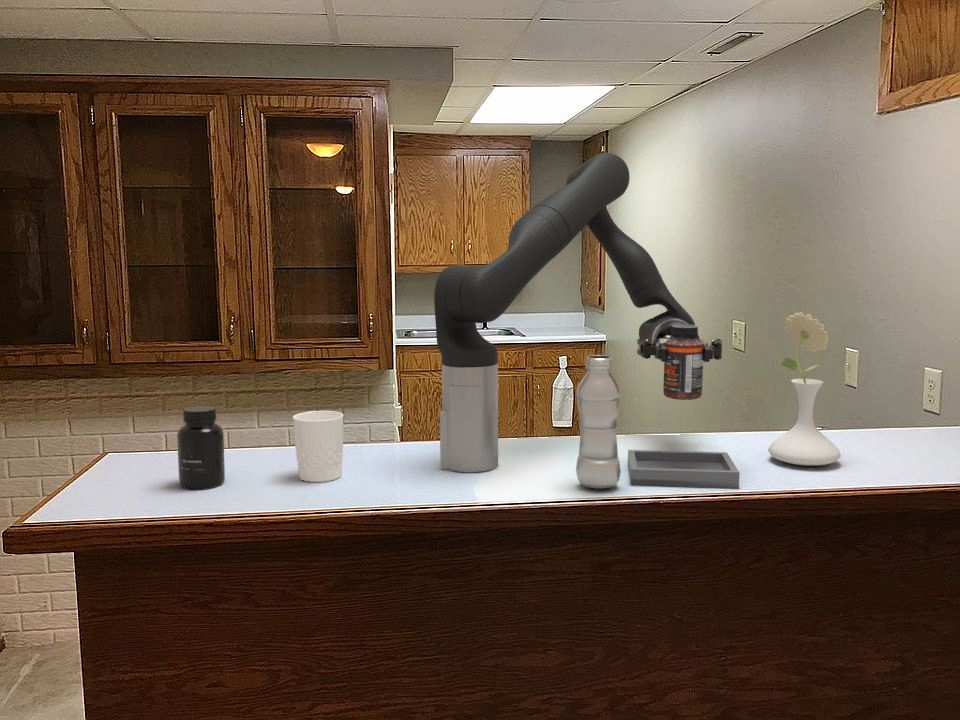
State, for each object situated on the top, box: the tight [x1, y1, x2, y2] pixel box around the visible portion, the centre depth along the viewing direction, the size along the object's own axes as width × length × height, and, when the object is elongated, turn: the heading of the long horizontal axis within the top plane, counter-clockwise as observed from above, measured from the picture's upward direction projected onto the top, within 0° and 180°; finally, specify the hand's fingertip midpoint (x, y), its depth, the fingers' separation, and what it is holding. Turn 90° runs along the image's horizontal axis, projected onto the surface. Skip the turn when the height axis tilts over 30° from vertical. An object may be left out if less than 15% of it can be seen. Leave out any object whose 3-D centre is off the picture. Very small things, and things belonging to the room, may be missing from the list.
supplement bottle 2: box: [662, 324, 704, 401], centre depth 130 cm, size 6×6×11 cm
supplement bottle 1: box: [176, 405, 226, 490], centre depth 129 cm, size 7×7×12 cm
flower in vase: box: [767, 311, 842, 467], centre depth 139 cm, size 13×11×25 cm
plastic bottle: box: [575, 354, 622, 489], centre depth 125 cm, size 6×7×20 cm
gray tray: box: [627, 449, 740, 490], centre depth 132 cm, size 16×12×2 cm
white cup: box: [292, 410, 345, 483], centre depth 133 cm, size 8×8×10 cm
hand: (685, 354), depth 128 cm, fingers closed on supplement bottle 2, 6 cm apart
